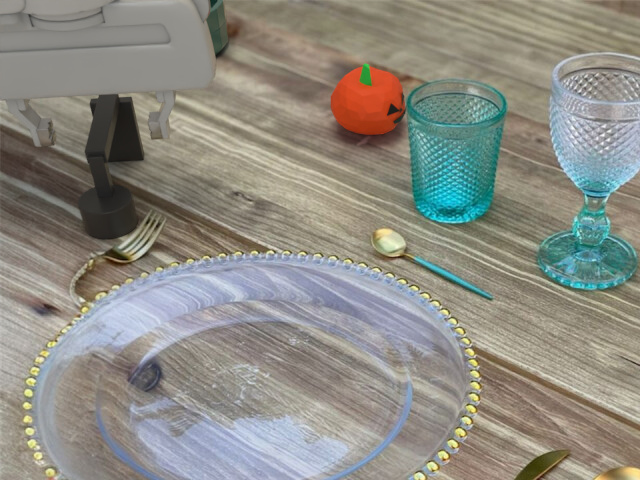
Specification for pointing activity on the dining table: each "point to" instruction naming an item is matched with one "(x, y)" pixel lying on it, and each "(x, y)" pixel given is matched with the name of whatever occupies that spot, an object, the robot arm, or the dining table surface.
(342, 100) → the pumpkin
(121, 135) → the dark grey desk lamp
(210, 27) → the bowl
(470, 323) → the dining table surface
